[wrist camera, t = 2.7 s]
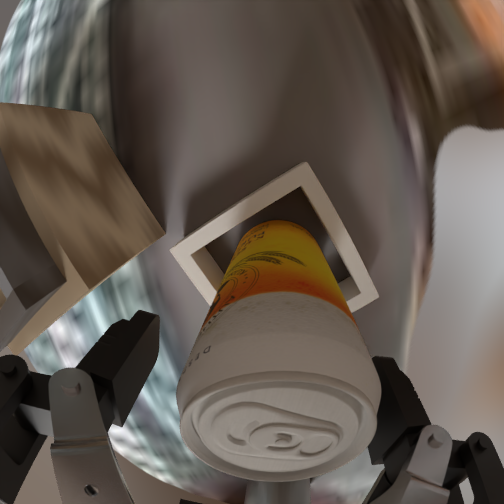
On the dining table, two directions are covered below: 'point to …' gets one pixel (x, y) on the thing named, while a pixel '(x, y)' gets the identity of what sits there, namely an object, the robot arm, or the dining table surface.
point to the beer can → (278, 366)
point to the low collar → (193, 245)
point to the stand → (60, 217)
